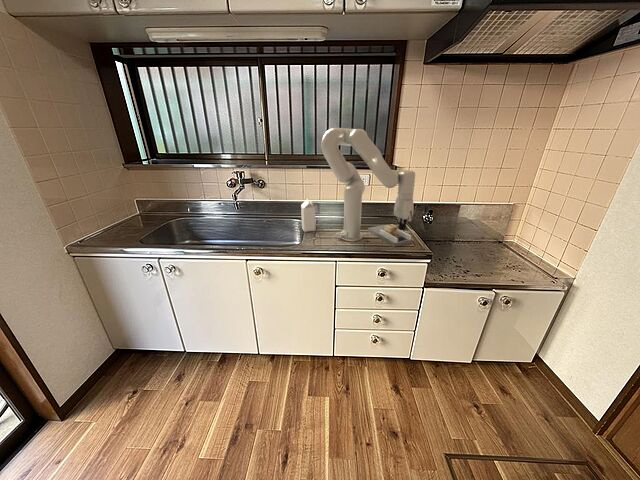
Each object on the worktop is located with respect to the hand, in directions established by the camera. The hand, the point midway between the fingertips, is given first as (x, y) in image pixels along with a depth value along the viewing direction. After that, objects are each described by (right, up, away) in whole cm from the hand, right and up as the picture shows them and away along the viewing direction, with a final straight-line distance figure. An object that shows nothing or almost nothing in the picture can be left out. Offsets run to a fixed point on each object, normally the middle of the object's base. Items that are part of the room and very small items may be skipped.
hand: (402, 229), depth 137 cm
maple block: (-4, -2, +9) cm, 10 cm away
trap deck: (-4, -4, +11) cm, 12 cm away
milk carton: (-51, +1, +22) cm, 56 cm away
